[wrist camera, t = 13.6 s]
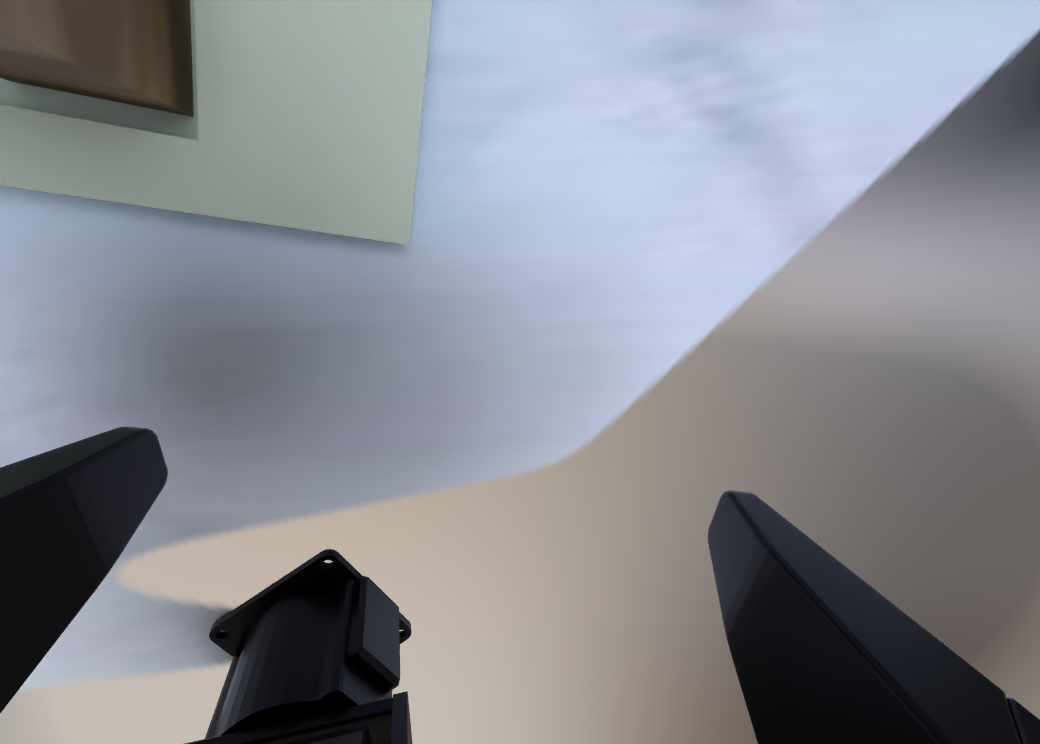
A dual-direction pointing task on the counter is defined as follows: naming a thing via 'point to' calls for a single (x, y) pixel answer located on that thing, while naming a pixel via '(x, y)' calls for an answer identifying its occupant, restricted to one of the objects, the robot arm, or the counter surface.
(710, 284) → the counter surface
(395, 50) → the sage rectangular frame
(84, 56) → the walnut post
